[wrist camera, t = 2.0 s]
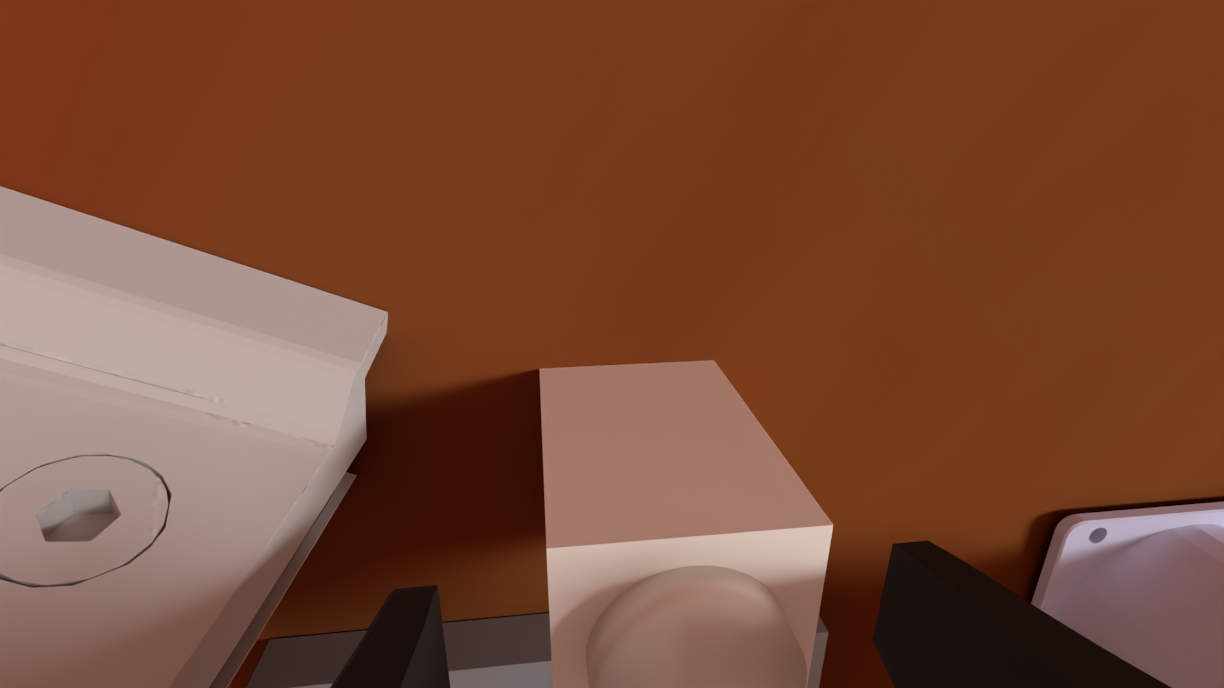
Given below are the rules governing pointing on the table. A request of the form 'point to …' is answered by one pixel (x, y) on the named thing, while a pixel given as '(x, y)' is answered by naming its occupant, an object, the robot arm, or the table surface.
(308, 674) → the housing
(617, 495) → the cube with dome top
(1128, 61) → the table surface
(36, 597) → the white speaker
